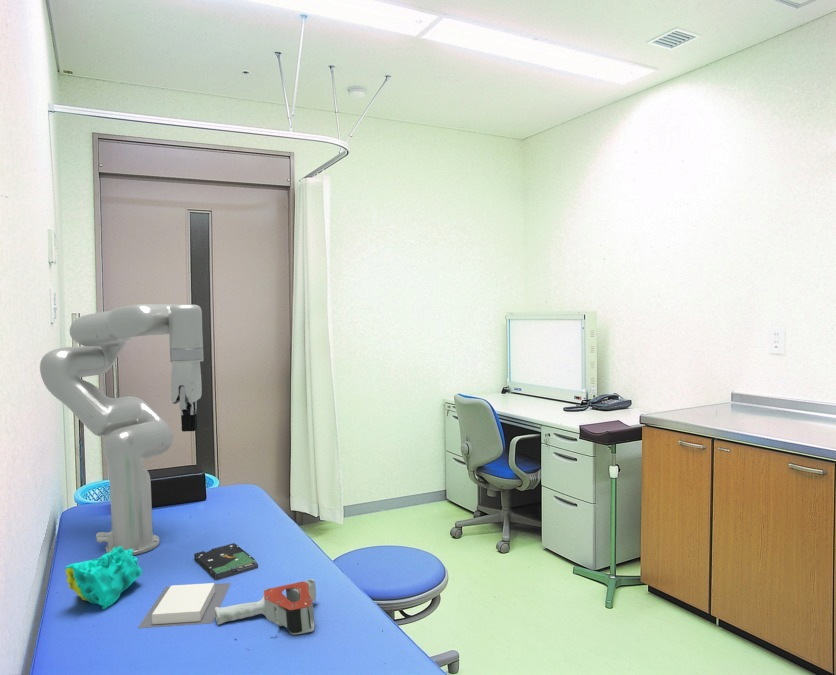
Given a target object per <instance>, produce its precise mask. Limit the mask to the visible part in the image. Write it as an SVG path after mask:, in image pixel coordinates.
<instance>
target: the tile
mask: <svg viewBox="0 0 836 675" xmlns="http://www.w3.org/2000/svg"><path fill="white" fill-rule="evenodd" d="M215 584H216V583H214V582H211V583H210V582H209V583H193V584H177V585H175V584H174V585H173V584H172V585H170V586H169V587H170V588H169V590H168V591H167V593H166V594H165V596H164V597H163V599H162V600H161V602H160V603H159V605H158V606H157V608H156V609H155V611H154V612H153V614H152V624H166V623H182V622H197V621H201V619H202V617H203V615H204V613H205V611H206V609H207V607H208V605H209V603H210V601H211V599H212V597H213V595H214V593H215Z"/></svg>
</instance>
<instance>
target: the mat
mask: <svg viewBox="0 0 836 675" xmlns="http://www.w3.org/2000/svg"><path fill="white" fill-rule="evenodd" d="M170 587H171V586H165V587H164V589H163V590H162V591H161V593H160V594H159V596H158V597H157V598H156V600H155V601H154V603H153V604H152V606H151V607H150V609H149V610H148V612H147V613H146V615H145V616H144V617H143V619H142V620H141V622H140V624H139V625H138V626H137V629H147V628H148V629H150V628H162V627H177V626H178V627H179V626H195V625H208V624H213V622H214V621H215V620H216V618H215V610H214V609H215V607H221V606H222V604H223V601H224V599H225V597H226V594H227V592H228V591H229V590H228V589H230V587H231V582H223V583H215V593H214V595H213V597H212V599H211V601H210V603H209V605H208V607H207V609H206V611H205V613H204V615H203V617H202V619H201V621H197V622H182V623H166V624H152V614H153V612H154V611H155V609H156V608H157V606H158V605H159V603H160V602H161V600H162V599H163V597H164V596H165V594H166V593H167V591H168V590H169V588H170Z"/></svg>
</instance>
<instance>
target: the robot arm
mask: <svg viewBox="0 0 836 675" xmlns="http://www.w3.org/2000/svg"><path fill="white" fill-rule="evenodd" d="M203 333H204V332H203V311H202V307H201V306H200V305H197V304H173V303H145V304H144V303H142V304H141V303H139V304H132V305H126V306H120V307H115V308H113V309H111V310H107V311H100V312H95V313H88V314H85V315H82V316H79V317H77V318H76V319H75V320H73V322H72V323H71V325H70V326H69V336H70V338H71V339H72V340H73V342H75V343H77V344H78V346H67V347H60V348H56V349H53V350H51V351H48V352H47V353H45V354H44V356H42V358H41V360H40V362H39V371H40V377H41V379H42V382H43V384H44V386H45V387H46V390H48V392H50V394H51V395H52V396H53V397H54V398H56V399H57V400H58V401H60V402H61V403H62V404H64V406H66V407H67V408H68V409H69V410H70V411H71V412H72V413H73V415H75V417H76V418H77V419H78V420H80V422H81V423H82V424H83V425H84V426H85V428H87V429H88V430H89V431H90V433H92V434H93V435H95V436H97V437H105V439H104V441H103V445H102V446H103V454H104V456H105V462H106V466H107V469H108V470H107V471H108V479H109V497H110V516H111V519H110V520H111V530H109V532H106V531H100V532H97V533H96V535H95V540H96V542H97V543H107V545H106V546H105V554H106V553H109V552H111V551H113V548H116V547H121V546H122V547H123V549H124V551H125V550H128V549H133V554H132V556H135V555H141V554H144V553H147V552H149V551H152V550H153V549H155V548H156V547H158V546H159V544H160V536H158V535H156V534H153V513H152V512H153V510H152V508H153V507H152V485H151V484H152V483H151V475H150V473H149V471H148V470H147V467H146V466H145V465H144V463H143V461H145V460H147V459H151V458H154V457H155V458H156V457H157V456H158V457H159V456H160V455H161V456H162V455H163V454H165V453H167V452H168V451H169V450H170V449H171V448H172V446H173V443H174V435H173V432H172V429H171V428H170V426H169V425H168V423H167V422H166V421H165V420H164V419H163V418H162V417H161V416H160V415H159V414H158V413H157V412H156V411H155V410H154V409H153V408H152V407H151V406H150V405H149V404H148V403H146V401H144V400H143V399H141V398H139V397H137V396H133V395H132V396H130V395H128V396H121V397H109V396H107V395H106V394H105V393H103V391H102V390H101V389H100V388H99V387H97V386H96V385H95V384H93V383H91V382H90V381H87V380H84V379H82V378H85V377H86V378H87V377H93V376H101V375H103V374H105V373H107V372H108V371H109V370H110V369H111V368H112V366H113V365H114V363H115V362H116V360H117V358H118V357H119V355H120V354H121V352H122V350H123V348H124V346H125V344H126V343H127V341H129V340H131V338H134V337H145V336H157V335H158V336H159V335H160V336H161V335H168V336H169V339H168V340H169V361H170V363H171V365H172V366H171V373H170V375H171V376H170V379H171V380H170V381H171V382H170V387H171V388H170V403H171V404H172V405H176V404H178V403H179V410H180V418H181V419H180V420H181V422H180V423H181V431H182V432H195V431H196V430H198V420H197V419H198V418H197V417H198V414H197V409H198V408H197V402H198V400H200V399H201V398H202V395H203V394H202V391H203V388H202V384H203V383H202V371H201V368H202V367H201V362H204V338H203ZM79 345H81V346H79Z"/></svg>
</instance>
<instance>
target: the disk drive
mask: <svg viewBox="0 0 836 675" xmlns="http://www.w3.org/2000/svg"><path fill="white" fill-rule="evenodd" d="M193 557H194V558H193V560H194V561H195V562H196V563H197V564H198V565H199V566H200V567H201V568H202V569H203V570H205V572H206V573H207V574H208V575H209V576H210V577H211V578H212V579H213V580H215V581H220V580H223V579H227V578H229V577H233V576H235V575H239V574H243V573H245V572H249V571H253V570H256V569H258V568H259V563H257V560H255V558H254V557H253V556H251V554H249V553H247V551H245V550H244V549H243V548H241V547H240V546H239V545H238V544H236V543H235V542H234V543H229V544H226V545H223V546H222V545H221V546H218V547H214V548H211V549H210V550H209V551H204V550H202V551H199V552H195V553H194V556H193Z"/></svg>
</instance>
